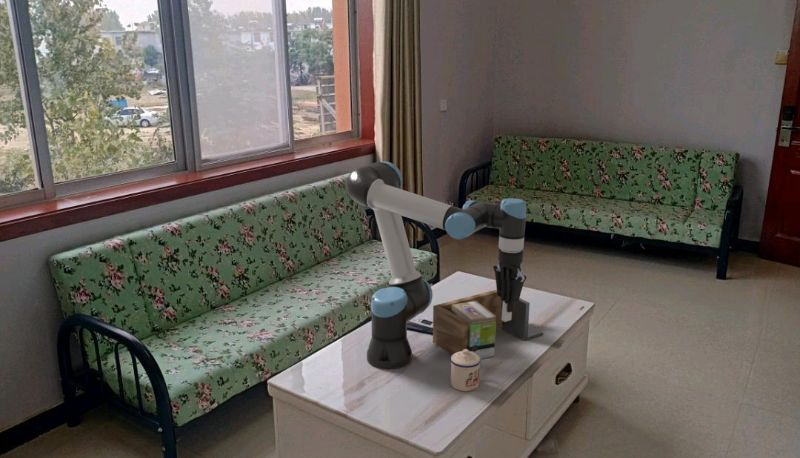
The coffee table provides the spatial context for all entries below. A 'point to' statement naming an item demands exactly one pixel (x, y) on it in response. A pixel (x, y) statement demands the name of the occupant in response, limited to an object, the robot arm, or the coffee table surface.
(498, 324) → the shelf
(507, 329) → the bookend
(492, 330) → the tea box
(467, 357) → the teacup with lid
